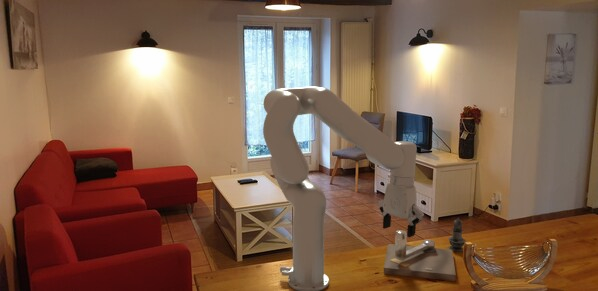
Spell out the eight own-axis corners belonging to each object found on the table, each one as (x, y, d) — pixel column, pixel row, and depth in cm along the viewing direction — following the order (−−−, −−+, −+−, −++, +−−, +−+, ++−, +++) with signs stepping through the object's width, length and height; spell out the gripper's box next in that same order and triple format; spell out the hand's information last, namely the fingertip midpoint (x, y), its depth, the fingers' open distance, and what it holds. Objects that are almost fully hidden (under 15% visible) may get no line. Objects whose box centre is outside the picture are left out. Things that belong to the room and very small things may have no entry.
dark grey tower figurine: (462, 246, 174) (464, 214, 171) (466, 252, 168) (468, 220, 166) (446, 245, 174) (448, 214, 172) (449, 252, 168) (451, 220, 166)
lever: (426, 242, 168) (428, 218, 166) (436, 246, 165) (437, 221, 163) (391, 258, 155) (392, 231, 154) (401, 262, 152) (402, 235, 151)
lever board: (383, 273, 152) (383, 265, 152) (388, 248, 172) (388, 242, 171) (455, 280, 147) (455, 273, 146) (451, 254, 166) (451, 247, 166)
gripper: (373, 176, 154) (370, 226, 157) (417, 188, 141) (413, 242, 144) (388, 173, 159) (384, 222, 162) (432, 184, 146) (428, 237, 149)
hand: (398, 231), depth 153 cm, fingers open, 9 cm apart
